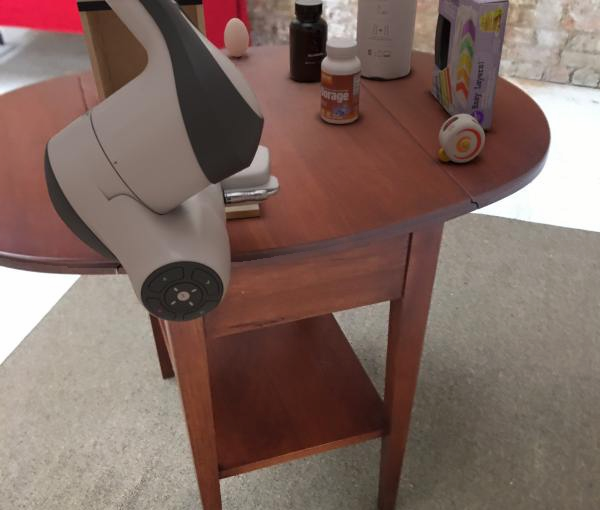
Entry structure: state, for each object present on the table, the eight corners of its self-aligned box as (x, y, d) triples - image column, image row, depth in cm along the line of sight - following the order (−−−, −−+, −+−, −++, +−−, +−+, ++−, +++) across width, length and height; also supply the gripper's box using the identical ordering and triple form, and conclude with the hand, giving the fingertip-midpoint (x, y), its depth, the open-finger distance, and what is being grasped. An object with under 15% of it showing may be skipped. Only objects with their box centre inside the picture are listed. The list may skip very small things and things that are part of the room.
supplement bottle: (315, 85, 113) (315, 8, 105) (283, 79, 116) (280, 4, 107) (333, 73, 117) (335, -1, 109) (301, 67, 120) (300, -6, 111)
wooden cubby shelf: (104, 122, 103) (73, -10, 90) (109, 93, 112) (82, -31, 99) (214, 114, 105) (200, -17, 92) (211, 86, 114) (197, -37, 101)
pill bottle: (314, 121, 102) (313, 45, 94) (330, 107, 106) (331, 34, 98) (349, 127, 100) (352, 50, 92) (364, 113, 104) (368, 38, 96)
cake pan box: (426, 90, 111) (440, -30, 98) (453, 88, 111) (471, -32, 98) (459, 135, 97) (480, 2, 85) (491, 132, 98) (516, 0, 85)
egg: (253, 53, 126) (251, 15, 122) (244, 61, 123) (241, 22, 118) (231, 51, 127) (228, 14, 123) (221, 59, 124) (218, 20, 120)
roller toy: (484, 164, 90) (492, 123, 86) (440, 167, 90) (446, 126, 85) (475, 151, 93) (482, 110, 89) (432, 153, 93) (438, 113, 89)
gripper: (281, 166, 63) (265, 113, 73) (70, 184, 61) (84, 128, 71) (283, 223, 67) (269, 166, 77) (87, 242, 65) (98, 181, 75)
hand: (179, 148), depth 74 cm, fingers open, 8 cm apart
